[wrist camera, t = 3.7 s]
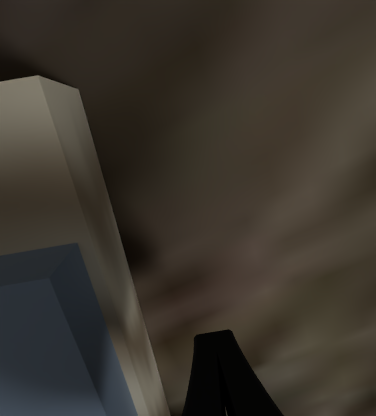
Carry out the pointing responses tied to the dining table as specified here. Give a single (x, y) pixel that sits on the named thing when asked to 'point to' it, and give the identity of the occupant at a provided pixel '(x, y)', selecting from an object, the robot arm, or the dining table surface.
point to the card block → (56, 339)
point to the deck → (71, 214)
